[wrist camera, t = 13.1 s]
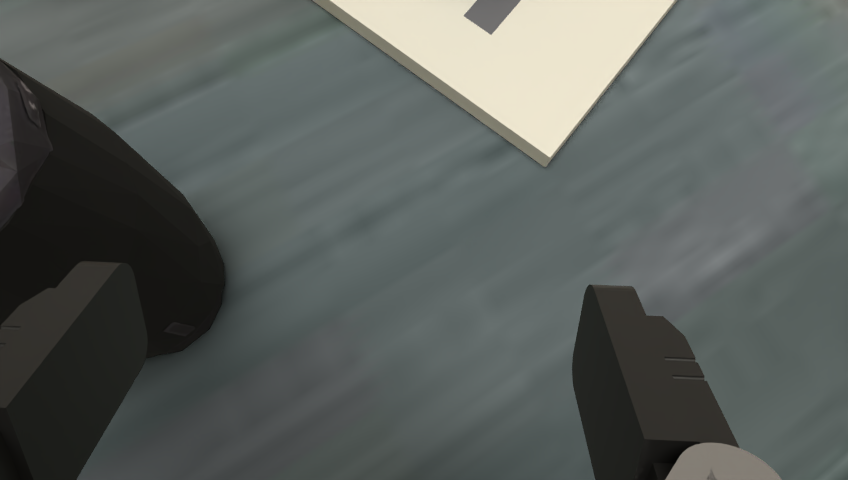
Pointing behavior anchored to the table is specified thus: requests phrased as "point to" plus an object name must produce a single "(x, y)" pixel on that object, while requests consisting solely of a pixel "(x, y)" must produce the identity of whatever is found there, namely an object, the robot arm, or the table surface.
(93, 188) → the portable speaker
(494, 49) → the letter board
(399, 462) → the table surface
